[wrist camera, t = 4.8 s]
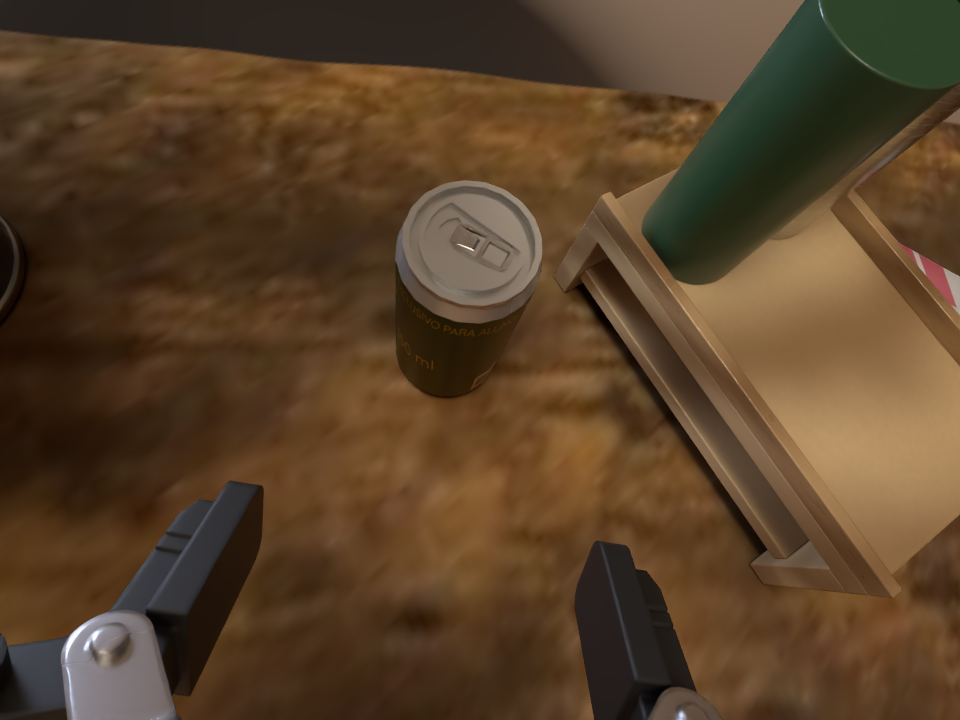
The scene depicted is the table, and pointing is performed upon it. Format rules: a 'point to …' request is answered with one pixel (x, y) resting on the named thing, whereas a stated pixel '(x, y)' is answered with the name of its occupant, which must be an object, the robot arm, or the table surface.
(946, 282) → the paintbrush
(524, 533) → the table surface
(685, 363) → the tray
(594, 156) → the table surface
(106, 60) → the table surface
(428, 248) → the beer can
